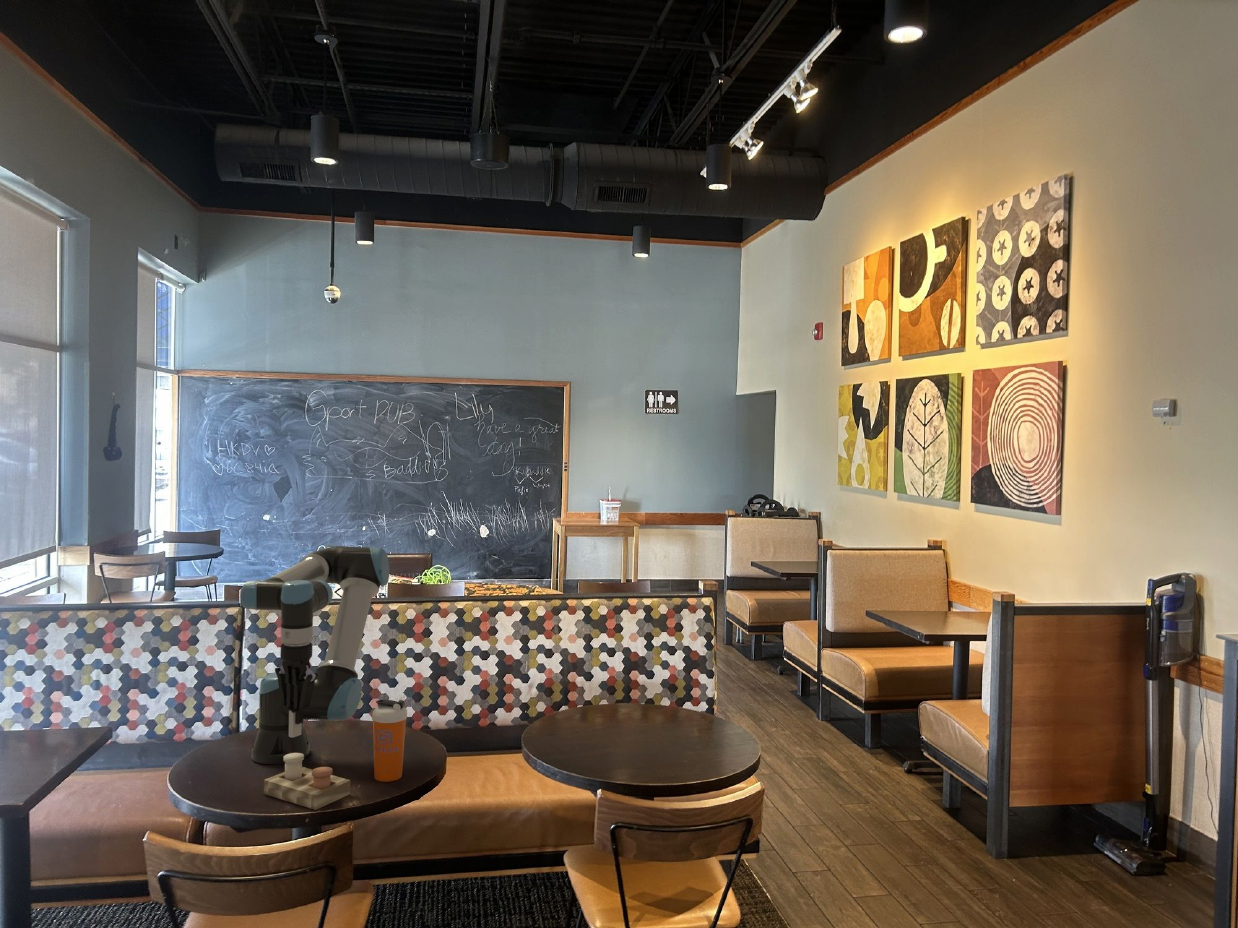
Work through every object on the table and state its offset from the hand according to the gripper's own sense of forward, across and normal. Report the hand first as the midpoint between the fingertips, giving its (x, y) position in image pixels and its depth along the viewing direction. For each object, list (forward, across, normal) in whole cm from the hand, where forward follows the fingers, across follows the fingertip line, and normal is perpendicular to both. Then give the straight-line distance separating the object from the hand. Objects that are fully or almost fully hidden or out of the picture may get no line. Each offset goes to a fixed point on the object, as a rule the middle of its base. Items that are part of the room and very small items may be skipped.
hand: (295, 735), depth 214 cm
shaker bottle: (+14, +14, +18) cm, 27 cm away
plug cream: (+12, 0, -1) cm, 12 cm away
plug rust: (+13, +10, -1) cm, 17 cm away
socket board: (+14, +5, -1) cm, 15 cm away
